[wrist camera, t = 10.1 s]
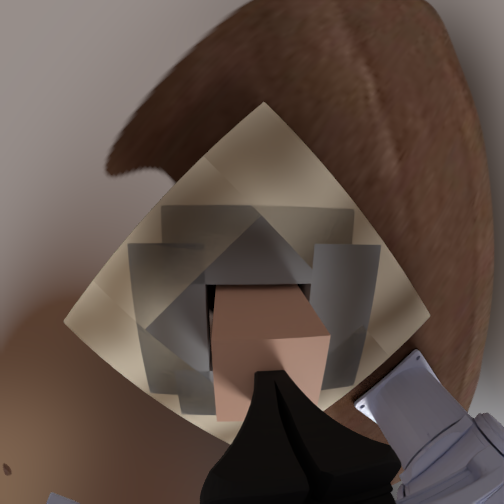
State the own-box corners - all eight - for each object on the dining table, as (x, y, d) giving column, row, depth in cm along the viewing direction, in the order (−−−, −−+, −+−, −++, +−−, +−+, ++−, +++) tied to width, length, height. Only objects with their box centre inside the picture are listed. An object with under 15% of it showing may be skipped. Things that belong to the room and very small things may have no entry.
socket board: (413, 303, 21) (430, 315, 18) (250, 435, 23) (252, 455, 20) (259, 112, 16) (264, 101, 14) (78, 307, 18) (63, 321, 16)
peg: (291, 276, 19) (330, 335, 11) (286, 339, 20) (315, 415, 13) (217, 277, 19) (211, 340, 11) (218, 341, 20) (217, 421, 12)
